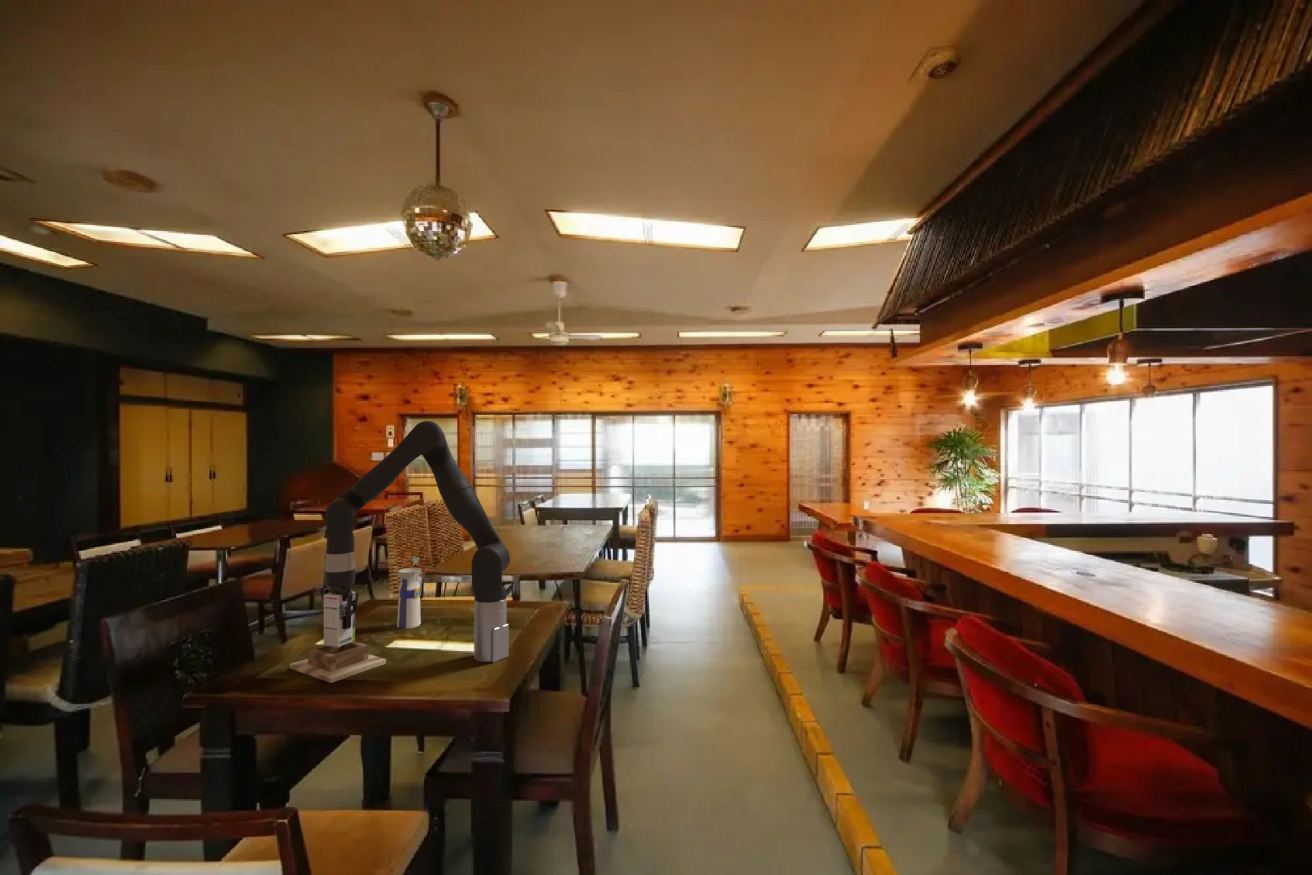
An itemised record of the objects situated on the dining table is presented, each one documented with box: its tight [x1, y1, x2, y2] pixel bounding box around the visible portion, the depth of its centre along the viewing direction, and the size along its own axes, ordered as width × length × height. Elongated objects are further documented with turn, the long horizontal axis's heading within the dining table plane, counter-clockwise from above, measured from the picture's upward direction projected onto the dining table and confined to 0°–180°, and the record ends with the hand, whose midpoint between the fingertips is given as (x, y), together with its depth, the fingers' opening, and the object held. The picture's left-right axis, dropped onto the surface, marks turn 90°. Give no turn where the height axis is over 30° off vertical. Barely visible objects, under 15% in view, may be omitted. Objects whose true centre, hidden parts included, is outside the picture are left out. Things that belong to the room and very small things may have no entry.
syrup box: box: [323, 590, 356, 647], centre depth 163 cm, size 6×6×14 cm
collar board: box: [289, 640, 387, 684], centre depth 163 cm, size 20×16×5 cm
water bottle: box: [396, 555, 423, 629], centre depth 201 cm, size 8×9×25 cm
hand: (339, 626), depth 163 cm, fingers closed on syrup box, 6 cm apart
